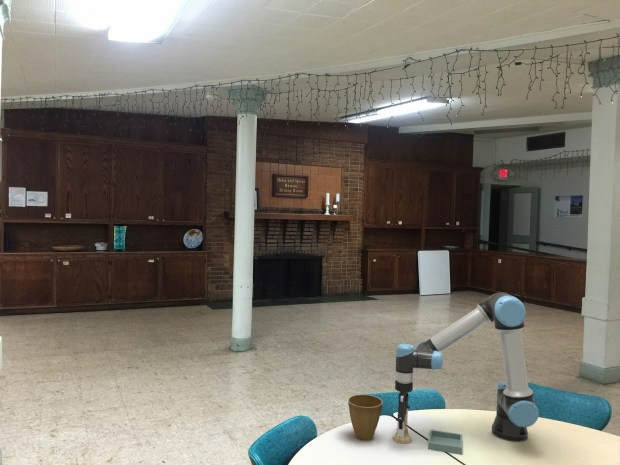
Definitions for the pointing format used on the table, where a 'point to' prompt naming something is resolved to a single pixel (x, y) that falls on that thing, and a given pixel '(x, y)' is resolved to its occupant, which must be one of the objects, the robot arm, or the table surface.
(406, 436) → the hand bell
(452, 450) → the tray
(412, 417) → the table surface
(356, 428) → the plant pot
